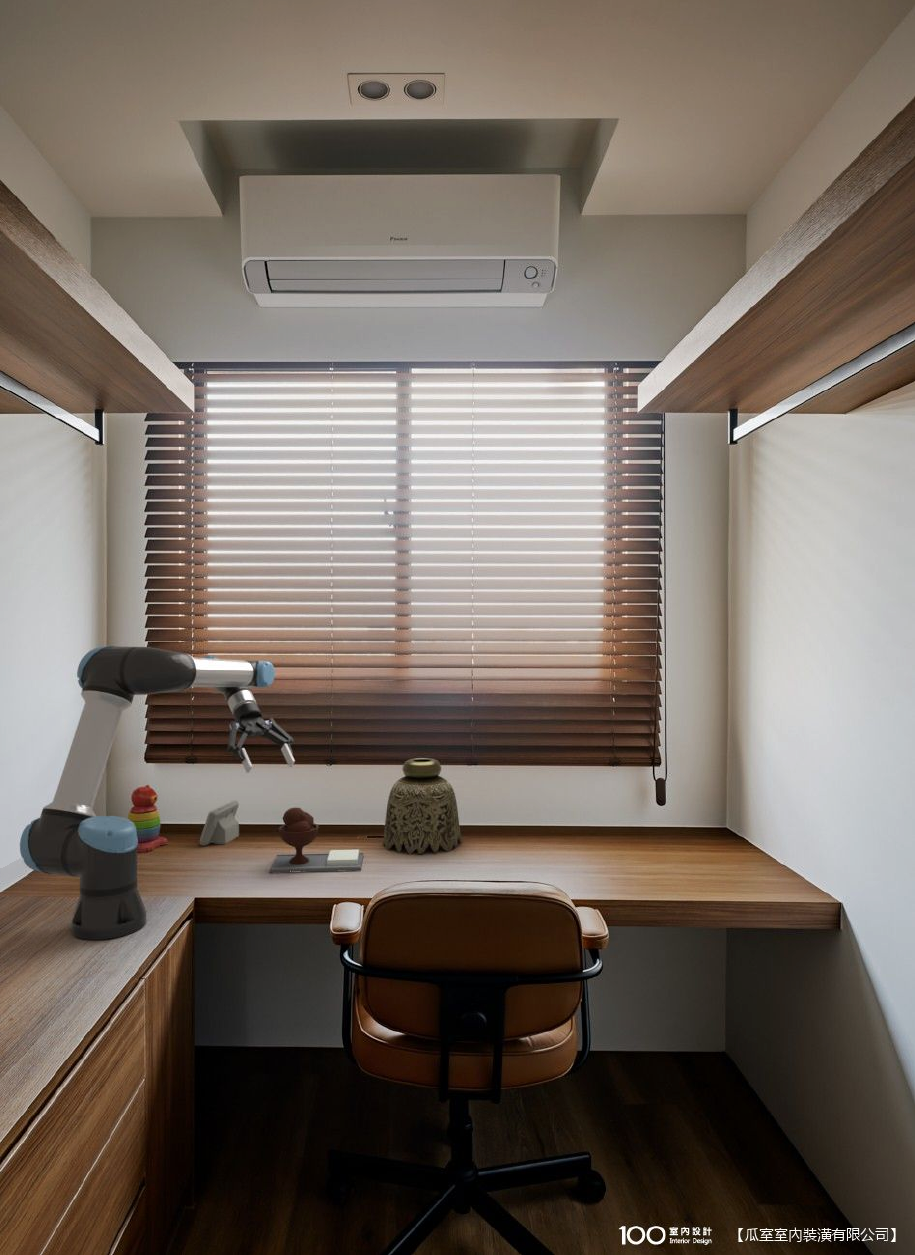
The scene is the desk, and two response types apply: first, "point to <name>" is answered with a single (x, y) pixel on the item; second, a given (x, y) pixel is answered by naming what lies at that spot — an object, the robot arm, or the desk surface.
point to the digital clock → (221, 825)
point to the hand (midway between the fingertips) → (271, 767)
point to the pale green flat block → (343, 858)
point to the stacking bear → (146, 819)
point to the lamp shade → (422, 809)
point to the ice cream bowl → (298, 832)
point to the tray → (310, 863)
